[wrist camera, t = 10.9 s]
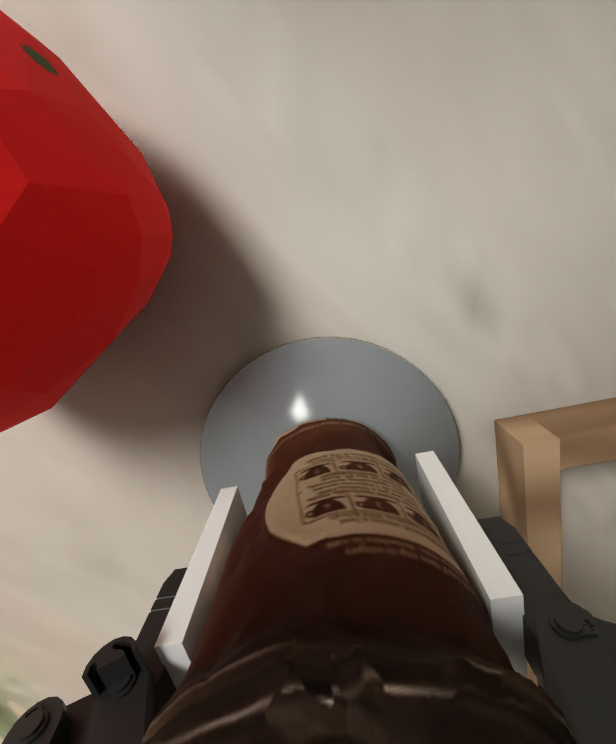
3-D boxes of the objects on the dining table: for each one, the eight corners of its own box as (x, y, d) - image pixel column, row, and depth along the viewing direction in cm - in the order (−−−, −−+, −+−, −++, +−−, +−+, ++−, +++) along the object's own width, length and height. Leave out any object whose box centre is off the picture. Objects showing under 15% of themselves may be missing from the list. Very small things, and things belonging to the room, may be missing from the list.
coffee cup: (280, 360, 16) (137, 750, 3) (447, 422, 16) (874, 938, 4) (224, 511, 18) (23, 1061, 6) (371, 559, 19) (481, 1139, 6)
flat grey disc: (169, 367, 17) (164, 371, 16) (440, 309, 16) (445, 311, 15) (242, 574, 20) (240, 583, 20) (465, 539, 19) (470, 547, 19)
